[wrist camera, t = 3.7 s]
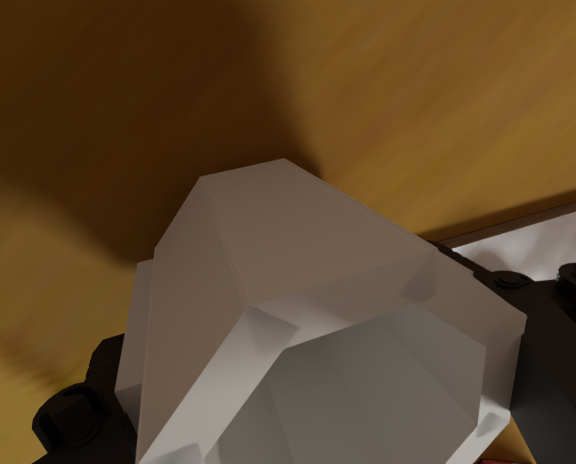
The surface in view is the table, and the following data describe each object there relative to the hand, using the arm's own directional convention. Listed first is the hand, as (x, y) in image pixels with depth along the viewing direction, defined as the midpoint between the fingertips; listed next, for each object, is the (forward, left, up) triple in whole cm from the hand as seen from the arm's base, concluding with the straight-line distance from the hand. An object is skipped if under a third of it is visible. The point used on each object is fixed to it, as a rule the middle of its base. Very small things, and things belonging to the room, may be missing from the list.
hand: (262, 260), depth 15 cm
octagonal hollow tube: (0, 0, 0) cm, 0 cm away
